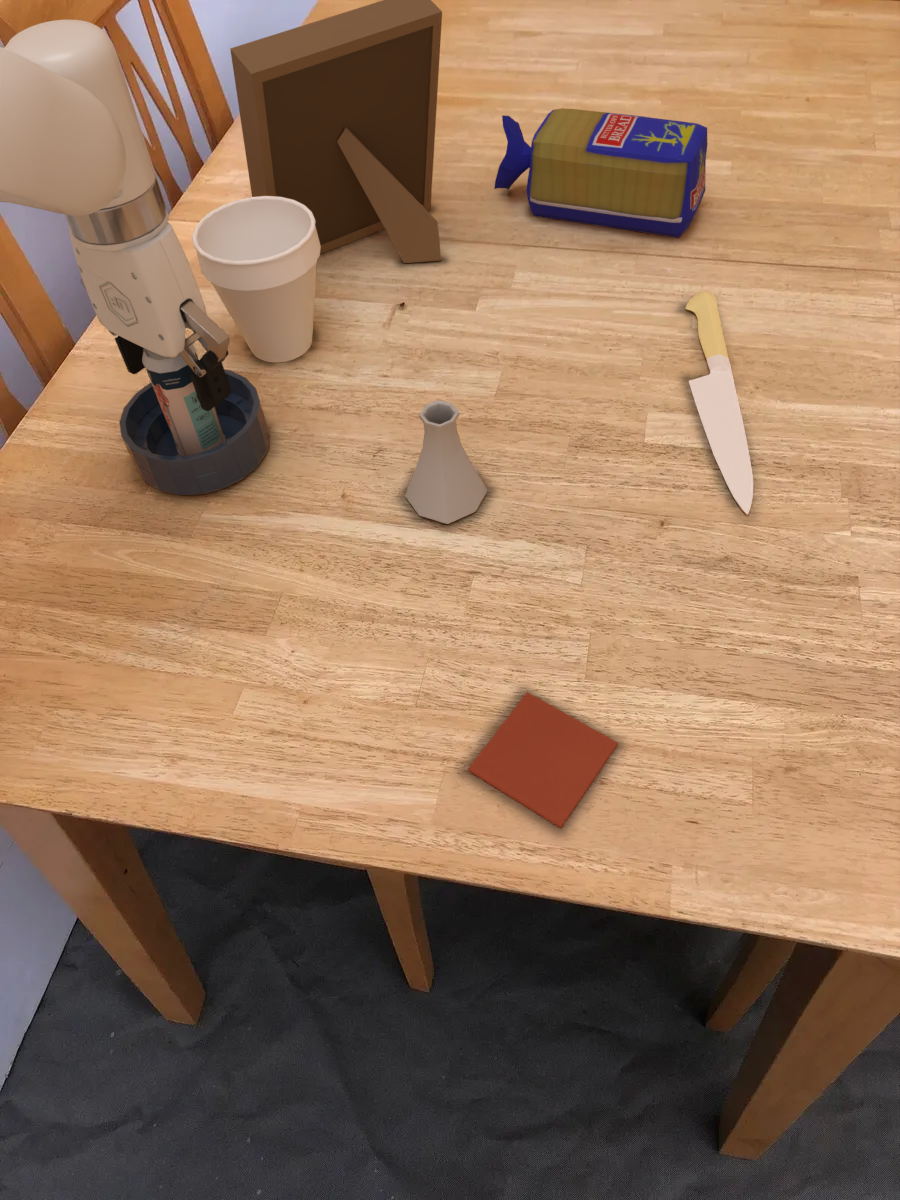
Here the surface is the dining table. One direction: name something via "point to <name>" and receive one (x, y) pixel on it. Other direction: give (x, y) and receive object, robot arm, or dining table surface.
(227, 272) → the cup
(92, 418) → the dining table surface
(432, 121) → the photo frame
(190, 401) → the beer can
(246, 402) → the bowl
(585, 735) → the mat
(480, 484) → the flask
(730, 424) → the knife
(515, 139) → the bread
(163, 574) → the dining table surface
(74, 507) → the dining table surface
